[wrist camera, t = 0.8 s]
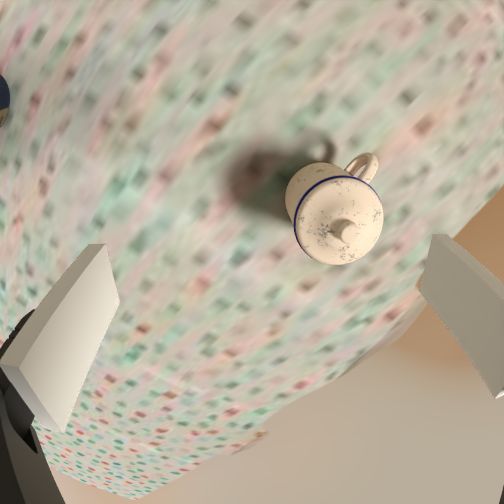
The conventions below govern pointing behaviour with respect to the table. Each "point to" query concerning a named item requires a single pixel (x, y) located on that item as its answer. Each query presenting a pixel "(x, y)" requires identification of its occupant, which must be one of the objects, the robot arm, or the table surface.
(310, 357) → the table surface
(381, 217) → the teacup with lid
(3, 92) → the canister
